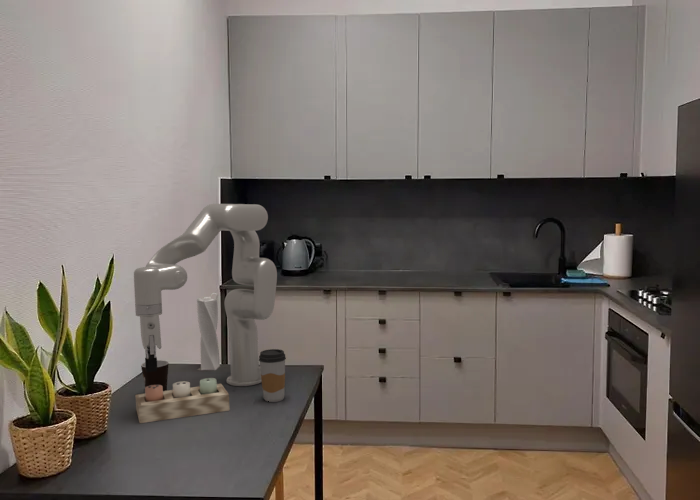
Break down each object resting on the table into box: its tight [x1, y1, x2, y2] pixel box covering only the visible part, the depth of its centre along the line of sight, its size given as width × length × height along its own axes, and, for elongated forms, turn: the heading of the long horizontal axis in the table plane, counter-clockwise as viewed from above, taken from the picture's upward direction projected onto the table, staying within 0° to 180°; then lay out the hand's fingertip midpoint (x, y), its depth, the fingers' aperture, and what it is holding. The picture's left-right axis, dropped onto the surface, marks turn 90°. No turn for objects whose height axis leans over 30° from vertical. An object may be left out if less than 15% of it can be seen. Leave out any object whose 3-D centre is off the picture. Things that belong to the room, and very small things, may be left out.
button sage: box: [199, 377, 218, 395], centre depth 224 cm, size 5×5×5 cm
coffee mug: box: [140, 359, 170, 391], centre depth 240 cm, size 12×9×10 cm
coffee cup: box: [258, 348, 287, 403], centre depth 230 cm, size 8×8×15 cm
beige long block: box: [134, 383, 230, 424], centre depth 222 cm, size 26×12×5 cm, turn 110°
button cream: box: [172, 380, 191, 398], centre depth 221 cm, size 5×5×5 cm
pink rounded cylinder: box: [144, 385, 163, 402], centre depth 219 cm, size 5×5×5 cm
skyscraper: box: [196, 292, 222, 371], centre depth 267 cm, size 8×8×28 cm
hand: (151, 370), depth 217 cm, fingers closed
